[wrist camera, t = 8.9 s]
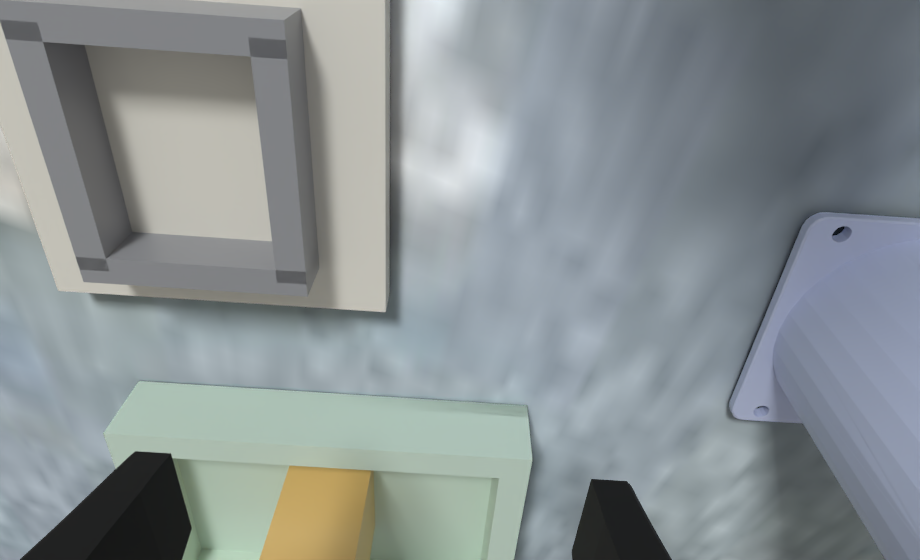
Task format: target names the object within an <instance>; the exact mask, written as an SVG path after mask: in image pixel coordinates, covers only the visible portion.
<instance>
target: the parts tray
mask: <svg viewBox="0 0 920 560" xmlns="http://www.w3.org/2000/svg"><path fill="white" fill-rule="evenodd" d="M103 434H104V437H105V440H106V443H107V446H108V448H109V451H110V454H111V457H112V460H113V462H114V465H115V468H117V467H118V466H120V465H121V464H122V463H123V462H124V461H125V460H126V459H127V458H128V457H129V456H130V455H131V454H133V453H134V452H135V451H140V452H156V453H171V455H172V458H173V462H174V466H175V469H176V473H177V476H178V480H179V484H180V487H181V491H182V494H183V498H184V502H185V505H186V509H187V512H188V516H189V519H190V523H191V527H192V530H191V533H190V536H189V539H188V542H187V546H186V549H185V552H184V555H183V558H182V560H259V559H260V555H261V552H262V549H263V546H264V543H265V540H266V537H267V534H268V531H269V528H270V524H271V521H272V518H273V515H274V512H275V509H276V506H277V503H278V500H279V497H280V493H281V490H282V487H283V484H284V481H285V478H286V475H287V472H288V469H289V465H290V466H307V467H323V468H340V469H356V470H372V471H374V499H375V529H374V536H373V542H372V548H371V554H370V560H514V556H515V551H516V545H517V540H518V535H519V529H520V524H521V519H522V513H523V508H524V503H525V497H526V492H527V487H528V481H529V476H530V471H531V465H532V450H531V439H530V429H529V419H528V408H527V406H526V405H510V404H494V403H478V402H462V401H446V400H430V399H415V398H399V397H383V396H367V395H351V394H335V393H319V392H303V391H288V390H272V389H256V388H240V387H224V386H208V385H192V384H176V383H160V382H145V381H139V382H138V383H137V385H136V386H135V387H134V389H133V390H132V392H131V393H130V395H129V396H128V398H127V399H126V401H125V402H124V404H123V405H122V407H121V408H120V409H119V411H118V412H117V414H116V415H115V417H114V418H113V420H112V421H111V423H110V424H109V426H108V427H107V429H106V430H105V432H104V433H103Z"/></svg>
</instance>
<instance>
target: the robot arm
mask: <svg viewBox="0 0 920 560" xmlns="http://www.w3.org/2000/svg"><path fill="white" fill-rule="evenodd" d="M843 226H845V227H844V229H843V231H842V232H841V233H839V234H838V235H834V236H832V234H833V233H834V231H835V230H836V229H838V228H839V227H843ZM759 406H762V407H760V408H757V407H759ZM729 408H730V410H731V412H732V414H733V416H734V417H735V418H737V419H741V420H754V421H770V422H786V423H802V424H803V425H804V426H805V428H806V430H807V431H808V433H809V434H810V436H811V438H812V439H813V441H814V443H815V444H816V446H817V448H818V449H819V451H820V453H821V454H822V456H823V458H824V459H825V461H826V463H827V464H828V466H829V468H830V469H831V471H832V472H833V474H834V476H835V477H836V479H837V481H838V482H839V484H840V486H841V487H842V489H843V491H844V492H845V494H846V496H847V497H848V499H849V501H850V502H851V504H852V506H853V507H854V509H855V510H856V512H857V514H858V515H859V517H860V519H861V520H862V522H863V524H864V525H865V527H866V529H867V530H868V532H869V534H870V535H871V537H872V539H873V540H874V542H875V544H876V545H877V547H878V548H879V550H880V552H881V553H882V555H883V557H884V558H885V560H920V218H906V217H892V216H877V215H862V214H848V213H833V212H821V213H817V214H814V215H812V216H810V217H809V218H808V219H807V220H806V221H805V222H804V224H803V225H802V227H801V230H800V232H799V234H798V237H797V239H796V242H795V244H794V247H793V249H792V251H791V254H790V256H789V259H788V261H787V264H786V266H785V268H784V271H783V273H782V276H781V278H780V281H779V283H778V285H777V288H776V290H775V293H774V295H773V298H772V300H771V302H770V305H769V307H768V310H767V312H766V315H765V317H764V319H763V322H762V324H761V327H760V329H759V332H758V334H757V336H756V339H755V341H754V344H753V346H752V349H751V351H750V353H749V356H748V358H747V361H746V363H745V366H744V368H743V370H742V373H741V375H740V378H739V380H738V383H737V385H736V387H735V390H734V392H733V395H732V397H731V400H730V402H729ZM756 408H757V409H756ZM191 530H192V527H191V523H190V519H189V516H188V512H187V509H186V505H185V502H184V498H183V494H182V491H181V487H180V484H179V480H178V476H177V473H176V469H175V466H174V462H173V458H172V455H171V453H156V452H140V451H135V452H134V453H133V454H131V455H130V456H129V457H128V458H127V459H126V460H125V461H124V462H123V463H122V464H121V465H120V466H118V467H117V468H116V469H115V470H114V471H113V472H112V473H111V474H110V475H109V476H108V477H107V478H106V479H105V480H104V481H103V482H102V483H101V484H100V485H99V486H98V487H97V488H96V489H95V490H94V491H93V492H91V493H90V494H89V495H88V496H87V497H86V498H85V499H84V500H83V501H82V502H81V503H80V504H79V505H78V506H77V507H76V508H75V509H74V510H73V511H72V512H71V513H70V514H68V515H67V516H66V517H65V518H64V519H63V520H62V521H61V522H60V523H59V524H58V525H57V526H56V527H55V528H54V529H53V530H51V531H50V532H49V533H48V534H47V535H46V536H45V537H44V538H43V539H42V540H41V541H40V542H38V543H37V544H36V545H35V546H34V547H33V548H32V549H31V550H30V551H29V552H28V553H27V554H25V555H24V556H23V557H22V558H21V559H20V560H182V558H183V555H184V552H185V549H186V546H187V542H188V539H189V536H190V533H191ZM572 558H573V560H672V559H671V557H670V556H669V554H668V552H667V551H666V549H665V547H664V545H663V544H662V542H661V540H660V538H659V537H658V535H657V533H656V531H655V530H654V528H653V526H652V524H651V522H650V521H649V519H648V517H647V515H646V513H645V511H644V509H643V508H642V506H641V504H640V502H639V500H638V498H637V496H636V494H635V492H634V491H633V489H632V487H631V485H630V484H629V483H628V482H627V481H613V480H597V479H591V482H590V486H589V490H588V493H587V497H586V501H585V504H584V508H583V512H582V516H581V519H580V523H579V527H578V530H577V534H576V538H575V541H574V545H573V549H572Z"/></svg>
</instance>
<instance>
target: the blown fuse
mask: <svg viewBox="0 0 920 560" xmlns="http://www.w3.org/2000/svg"><path fill="white" fill-rule="evenodd" d="M374 529H375V499H374V471H372V470H356V469H340V468H323V467H307V466H290V465H289V469H288V472H287V475H286V478H285V481H284V484H283V487H282V490H281V493H280V497H279V500H278V503H277V506H276V509H275V512H274V515H273V518H272V521H271V524H270V528H269V531H268V534H267V537H266V540H265V543H264V546H263V549H262V552H261V555H260V559H259V560H370V554H371V548H372V542H373V536H374Z"/></svg>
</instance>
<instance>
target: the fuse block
mask: <svg viewBox="0 0 920 560" xmlns="http://www.w3.org/2000/svg"><path fill="white" fill-rule="evenodd" d="M0 126H1V128H2V131H3V134H4V137H5V140H6V143H7V146H8V148H9V151H10V154H11V157H12V160H13V163H14V166H15V168H16V171H17V174H18V177H19V180H20V183H21V186H22V188H23V191H24V194H25V197H26V200H27V203H28V206H29V208H30V211H31V214H32V217H33V220H34V223H35V226H36V228H37V231H38V234H39V237H40V240H41V243H42V246H43V248H44V251H45V254H46V257H47V260H48V263H49V266H50V268H51V271H52V274H53V277H54V280H55V283H56V286H57V288H58V291H68V292H83V293H98V294H114V295H129V296H144V297H160V298H175V299H191V300H206V301H221V302H237V303H252V304H267V305H283V306H298V307H314V308H329V309H344V310H360V311H375V312H386V308H387V304H388V299H389V294H390V0H0Z"/></svg>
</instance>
